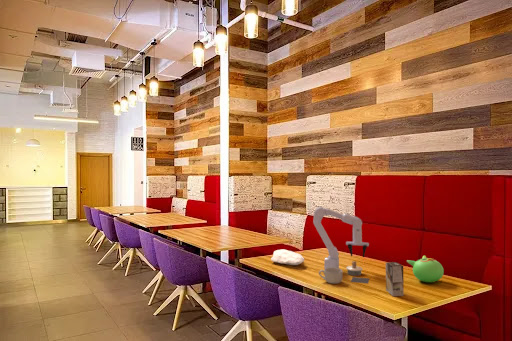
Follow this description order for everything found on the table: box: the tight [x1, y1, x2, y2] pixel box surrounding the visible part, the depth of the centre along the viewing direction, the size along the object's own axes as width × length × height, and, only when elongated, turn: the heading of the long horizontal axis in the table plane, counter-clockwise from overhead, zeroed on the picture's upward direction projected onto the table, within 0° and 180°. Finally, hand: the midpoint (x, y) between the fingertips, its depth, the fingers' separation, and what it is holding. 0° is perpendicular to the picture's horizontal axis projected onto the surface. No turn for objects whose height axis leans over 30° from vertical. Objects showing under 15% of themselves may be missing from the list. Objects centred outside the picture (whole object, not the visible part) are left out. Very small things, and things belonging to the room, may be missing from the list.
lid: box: [345, 260, 363, 272], centre depth 241 cm, size 10×10×5 cm
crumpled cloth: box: [270, 248, 305, 266], centre depth 273 cm, size 24×35×9 cm
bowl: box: [347, 270, 362, 277], centre depth 242 cm, size 8×8×4 cm
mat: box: [350, 276, 370, 284], centre depth 227 cm, size 10×11×1 cm
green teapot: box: [406, 255, 445, 283], centre depth 225 cm, size 18×17×15 cm
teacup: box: [318, 267, 343, 285], centre depth 223 cm, size 14×11×8 cm
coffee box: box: [385, 261, 405, 297], centre depth 203 cm, size 9×6×16 cm
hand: (357, 256), depth 247 cm, fingers open, 7 cm apart
